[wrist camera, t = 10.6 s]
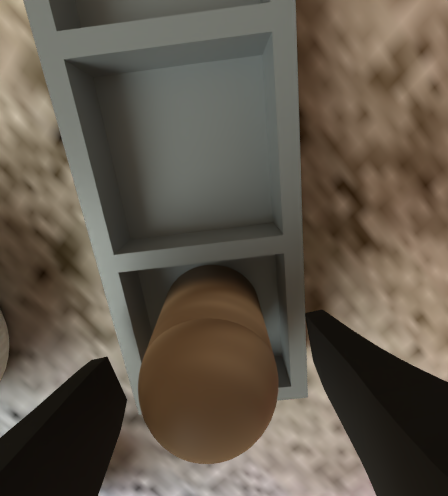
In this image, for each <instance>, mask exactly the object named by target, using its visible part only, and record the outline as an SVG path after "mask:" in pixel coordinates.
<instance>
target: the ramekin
mask: <svg viewBox="0 0 448 496" xmlns="http://www.w3.org/2000/svg"><path fill="white" fill-rule="evenodd" d="M8 357H9V334H8V329H7V325H6V322H5V319H4V317H3V314H2V312H1V310H0V381H1V379H2V377H3V374H4V372H5V370H6V366H7V361H8Z"/></svg>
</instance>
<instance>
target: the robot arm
mask: <svg viewBox="0 0 448 496" xmlns="http://www.w3.org/2000/svg"><path fill="white" fill-rule="evenodd" d="M305 317H306V323H307V329H308V334H309V340H310V346H311V351H312V357H313V362H314V364H315V367H316V370H317V372H318V375H319V377H320V380H321V382H322V385H323V388H324V390H325V392H326V394H327V396H328V398H329V400H330V402H331V404H332V406H333V407H334V409H335V411H336V413H337V415H338V417H339V419H340V421H341V423H342V425H343V427H344V429H345V431H346V433H347V435H348V436H349V438H350V440H351V442H352V444H353V446H354V448H355V450H356V452H357V454H358V456H359V458H360V460H361V462H362V464H363V466H364V468H365V470H366V472H367V474H368V477H369V479H370V481H371V484H372V486H373V488H374V491H375V493H376V495H377V496H448V382H446V381H444V380H442V379H440V378H438V377H436V376H433V375H431V374H429V373H427V372H425V371H423V370H421V369H419V368H417V367H415V366H413V365H411V364H409V363H407V362H405V361H403V360H401V359H399V358H397V357H396V356H394V355H392V354H390V353H388V352H387V351H385V350H383V349H381V348H380V347H378V346H376V345H375V344H373V343H372V342H370V341H368V340H367V339H365V338H364V337H362V336H361V335H359V334H357V333H356V332H354V331H353V330H351V329H350V328H348V327H347V326H346V325H344V324H343V323H341V322H340V321H338V320H337V319H335V318H334V317H333V316H331V315H330V314H328V313H327V312H325V311H324V310H318V311H314V312H309V313H305ZM126 403H127V398H126V396H125V394H124V392H123V390H122V387H121V385H120V383H119V381H118V379H117V377H116V374H115V372H114V370H113V368H112V366H111V363H110V361H109V359H108V357H104V358H99V359H94V360H91V361H90V362H88V363H87V364H86V365H84V366H83V367H82V368H81V369H80V370H78V371H77V372H76V373H75V374H74V375H72V376H71V377H70V378H69V379H68V380H67V381H66V382H64V383H63V384H62V385H61V386H60V387H59V388H58V389H57V390H55V391H54V392H53V393H52V394H51V395H50V396H49V397H48V398H46V399H45V400H44V401H43V402H42V403H41V404H40V405H39V406H37V407H36V408H35V409H34V410H33V411H32V412H30V413H29V414H28V415H27V416H26V417H24V418H23V419H22V420H21V421H20V422H19V423H17V424H16V425H15V426H14V427H13V428H11V429H10V430H9V431H8V432H7V433H6V434H4V435H3V436H2V437H1V438H0V496H98V494H99V491H100V488H101V485H102V482H103V479H104V477H105V474H106V471H107V468H108V465H109V462H110V460H111V457H112V454H113V451H114V448H115V445H116V442H117V439H118V436H119V433H120V430H121V426H122V422H123V418H124V413H125V408H126Z"/></svg>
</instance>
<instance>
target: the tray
mask: <svg viewBox="0 0 448 496" xmlns="http://www.w3.org/2000/svg"><path fill="white" fill-rule="evenodd" d="M23 1H24V4H25V8H26V12H27V15H28V19H29V22H30V26H31V30H32V33H33V37H34V40H35V44H36V48H37V51H38V55H39V58H40V62H41V65H42V69H43V73H44V76H45V80H46V83H47V87H48V91H49V94H50V98H51V101H52V105H53V109H54V112H55V116H56V119H57V123H58V126H59V130H60V134H61V137H62V141H63V144H64V148H65V152H66V155H67V159H68V162H69V166H70V170H71V173H72V177H73V180H74V184H75V187H76V191H77V195H78V198H79V202H80V205H81V209H82V213H83V216H84V220H85V223H86V227H87V230H88V234H89V238H90V241H91V245H92V248H93V252H94V256H95V259H96V263H97V266H98V270H99V274H100V277H101V281H102V284H103V288H104V291H105V295H106V299H107V302H108V306H109V309H110V313H111V317H112V320H113V324H114V327H115V331H116V335H117V338H118V342H119V345H120V349H121V352H122V356H123V360H124V363H125V367H126V370H127V374H128V378H129V381H130V385H131V388H132V392H133V396H134V399H135V403H136V406H137V410H138V413H139V415H141V414H142V412H141V408H140V404H139V397H138V379H139V372H140V367H141V364H142V361H143V358H144V355H145V352H146V349H147V347H148V344H149V342H150V339H151V336H152V334H153V331H154V328H155V326H156V323H157V320H158V318H159V315H160V313H161V310H162V307H163V305H164V302H165V299H166V297H167V294H168V292H169V290H170V288H171V286H172V284H173V283H174V282H175V281H176V280H177V278H178V277H180V276H181V275H182V274H184V273H185V272H187V271H189V270H191V269H193V268H196V267H199V266H204V265H220V266H225V267H228V268H231V269H233V270H235V271H237V272H239V273H241V274H242V275H243V276H244V277H246V278H247V279H248V280H249V282H250V283H251V284H252V286H253V287H254V289H255V291H256V293H257V296H258V300H259V304H260V307H261V311H262V314H263V318H264V322H265V325H266V329H267V332H268V336H269V340H270V343H271V347H272V350H273V354H274V358H275V361H276V366H277V371H278V397H277V400H287V399H297V398H306V397H308V389H307V356H306V324H305V291H304V259H303V227H302V194H301V162H300V130H299V97H298V65H297V33H296V0H23Z"/></svg>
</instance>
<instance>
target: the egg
mask: <svg viewBox="0 0 448 496" xmlns="http://www.w3.org/2000/svg"><path fill="white" fill-rule="evenodd" d="M138 397H139V404H140V408H141V412H142V415H143V418H144V421H145V423H146V425H147V427H148V428H149V430H150V432H151V434H152V435H153V436H154V438H155V439H156V440H157V441H158V442H159V443H160V444H161V445H162V446H163V447H164V448H165V449H166V450H167V451H169V452H170V453H172V454H173V455H175V456H177V457H179V458H181V459H183V460H186V461H189V462H193V463H199V464H214V463H220V462H224V461H228V460H230V459H233V458H235V457H237V456H239V455H240V454H242V453H243V452H245V451H247V450H248V449H249V448H250V447H251V446H252V445H253V444H254V443H255V442H256V441H257V440H258V439H259V438H260V437H261V436H262V434H263V433H264V431H265V430H266V428H267V426H268V425H269V423H270V421H271V419H272V416H273V413H274V410H275V407H276V403H277V397H278V371H277V366H276V361H275V358H274V354H273V350H272V347H271V343H270V340H269V336H268V332H267V329H266V325H265V322H264V318H263V314H262V311H261V307H260V304H259V300H258V296H257V293H256V291H255V289H254V287H253V286H252V284H251V283H250V282H249V280H248V279H247V278H246V277H244V276H243V275H242V274H241V273H239V272H237V271H235V270H233V269H231V268H228V267H225V266H220V265H204V266H199V267H196V268H193V269H191V270H189V271H187V272H185V273H184V274H182V275H181V276H180V277H178V278H177V280H176V281H175V282H174V283H173V284H172V286H171V288H170V290H169V292H168V294H167V297H166V299H165V302H164V305H163V307H162V310H161V313H160V315H159V318H158V320H157V323H156V326H155V328H154V331H153V334H152V336H151V339H150V342H149V344H148V347H147V349H146V352H145V355H144V358H143V361H142V364H141V367H140V372H139V379H138Z"/></svg>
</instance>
